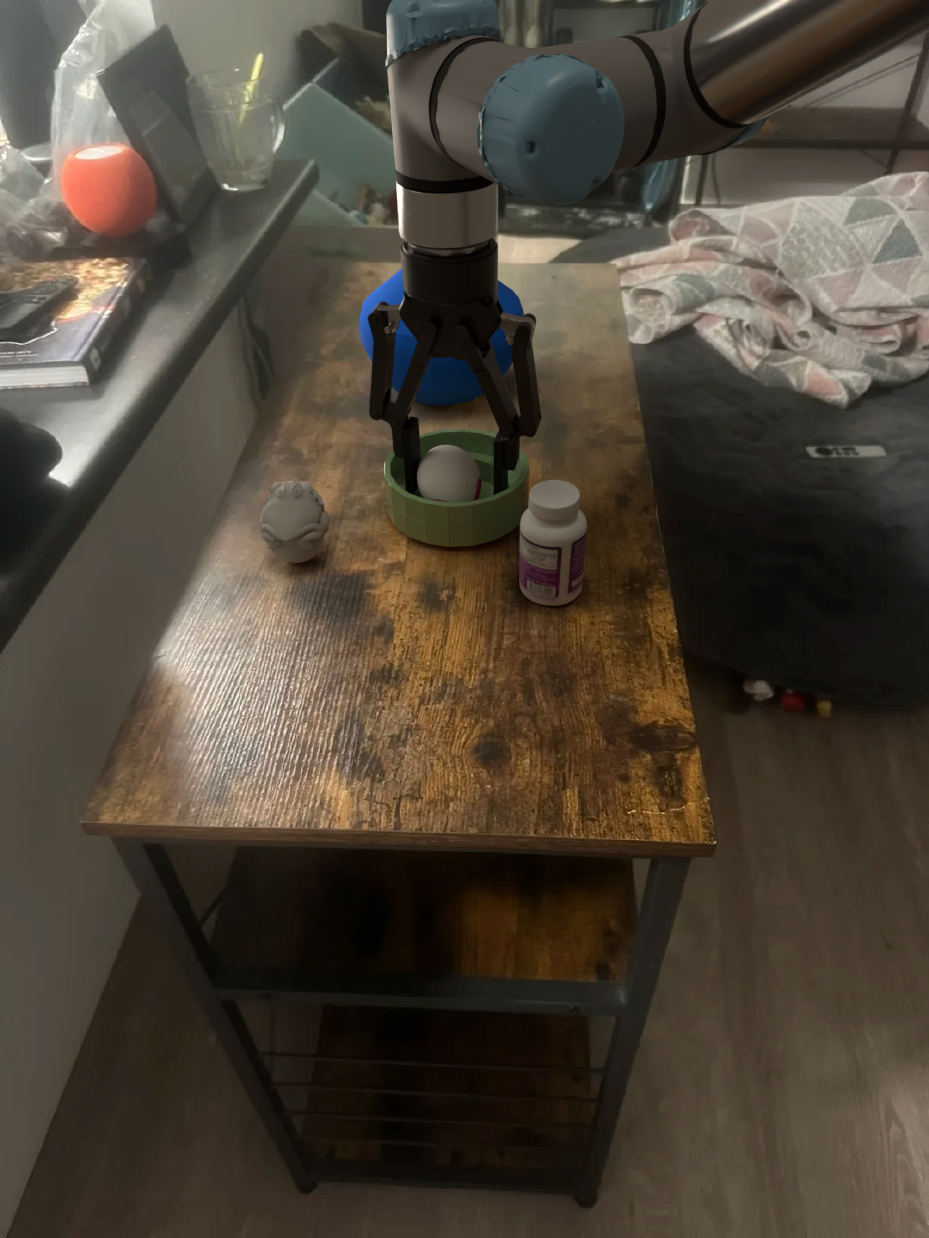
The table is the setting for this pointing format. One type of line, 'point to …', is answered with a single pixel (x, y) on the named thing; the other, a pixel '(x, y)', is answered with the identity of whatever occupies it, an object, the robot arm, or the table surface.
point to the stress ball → (448, 475)
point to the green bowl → (458, 518)
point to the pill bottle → (552, 544)
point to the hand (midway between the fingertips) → (457, 490)
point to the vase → (443, 376)
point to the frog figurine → (294, 521)
